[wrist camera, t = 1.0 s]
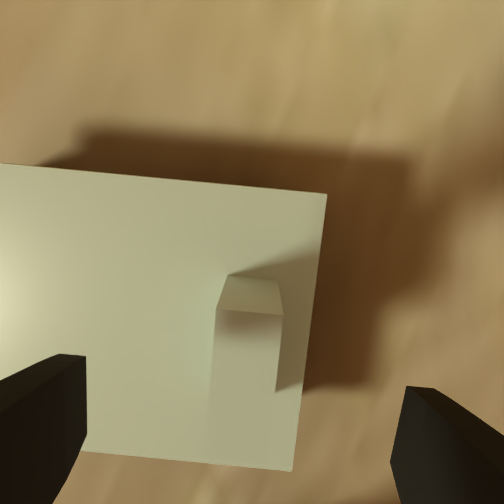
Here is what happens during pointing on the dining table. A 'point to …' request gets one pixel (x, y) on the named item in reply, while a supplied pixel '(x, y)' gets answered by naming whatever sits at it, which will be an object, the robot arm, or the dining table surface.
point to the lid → (165, 306)
